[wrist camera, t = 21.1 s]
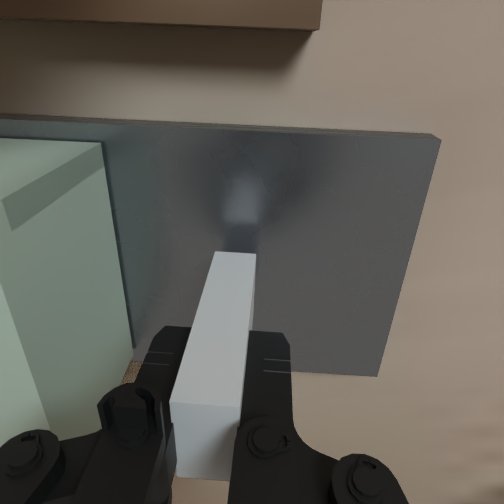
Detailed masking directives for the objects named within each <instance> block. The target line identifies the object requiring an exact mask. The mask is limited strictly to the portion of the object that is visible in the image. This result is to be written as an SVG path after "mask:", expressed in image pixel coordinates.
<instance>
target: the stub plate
mask: <svg viewBox="0 0 504 504" xmlns="http://www.w3.org/2000/svg"><path fill="white" fill-rule="evenodd" d="M0 138H9V139H30V140H50V141H71V142H91V143H101V148H102V155H103V161H104V168H105V174H106V180H107V187H108V193H109V200H110V206H111V213H112V219H113V226H114V232H115V239H116V245H117V251H118V258H119V264H120V271H121V277H122V284H123V290H124V297H125V303H126V309H127V316H128V322H129V329H130V335H131V342H132V348H133V357H132V359H131V361H144V358H145V356H146V354H147V353H148V349H149V347H150V344H151V342H152V340H153V337H154V336H155V335H156V334H157V333H158V332H159V331H160V330H161V329H162V328H163V327H164V326H180V327H192V325H193V322H194V319H195V316H196V312H197V309H198V306H199V302H200V299H201V296H202V293H203V289H204V286H205V283H206V279H207V276H208V273H209V270H210V266H211V263H212V260H213V256H214V253H215V251H219V252H235V253H251V254H256V270H255V291H254V311H253V323H252V331H266V332H281V333H283V334H284V336H285V338H286V339H287V341H288V343H289V344H290V358H291V360H290V362H291V371H297V372H312V373H328V374H343V375H358V376H373V377H377V375H378V371H379V368H380V364H381V360H382V357H383V353H384V349H385V346H386V342H387V338H388V335H389V331H390V327H391V324H392V320H393V316H394V313H395V309H396V305H397V302H398V298H399V294H400V291H401V287H402V283H403V280H404V276H405V272H406V269H407V265H408V261H409V258H410V254H411V250H412V247H413V243H414V239H415V236H416V232H417V228H418V225H419V221H420V217H421V214H422V210H423V206H424V203H425V199H426V195H427V192H428V188H429V184H430V181H431V177H432V173H433V170H434V166H435V162H436V159H437V155H438V151H439V148H440V144H441V139H439V138H437V137H435V136H434V135H432V134H424V133H403V132H382V131H361V130H339V129H318V128H297V127H276V126H254V125H233V124H212V123H191V122H170V121H148V120H127V119H106V118H85V117H63V116H42V115H21V114H0Z"/></svg>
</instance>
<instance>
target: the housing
mask: <svg viewBox="0 0 504 504" xmlns="http://www.w3.org/2000/svg"><path fill="white" fill-rule="evenodd" d="M132 357H133V348H132V342H131V335H130V329H129V322H128V316H127V309H126V303H125V297H124V290H123V284H122V277H121V271H120V264H119V258H118V251H117V245H116V239H115V232H114V226H113V219H112V213H111V206H110V200H109V193H108V187H107V180H106V174H105V168H104V161H103V155H102V148H101V143H91V142H71V141H50V140H30V139H9V138H0V447H1V446H2V445H3V444H4V443H6V442H7V441H8V440H9V439H11V438H13V437H15V436H17V435H19V434H21V433H23V432H25V431H30V430H35V429H42V430H49V431H51V432H52V433H54V434H55V435H57V437H58V440H59V441H61V440H66V439H70V438H75V437H79V436H84V435H88V434H91V433H94V432H97V431H99V429H100V427H101V421H100V417H99V413H98V409H97V404H98V403H99V401H100V400H101V399H102V397H103V396H104V395H105V394H107V393H108V392H109V391H111V390H112V389H113V388H115V387H118V386H119V385H120V383H121V381H122V379H123V377H124V374H125V372H126V370H127V368H128V366H129V363H130V361H131V359H132Z"/></svg>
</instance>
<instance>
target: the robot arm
mask: <svg viewBox="0 0 504 504" xmlns="http://www.w3.org/2000/svg"><path fill="white" fill-rule="evenodd" d="M255 270H256V254H251V253H235V252H219V251H215V253H214V256H213V260H212V263H211V266H210V270H209V273H208V276H207V279H206V283H205V286H204V289H203V293H202V296H201V299H200V302H199V306H198V309H197V312H196V316H195V319H194V322H193V325H192V327H180V326H164V327H163V328H162V329H161V330H160V331H159V332H158V333H157V334H156V335H155V336H154V337H153V340H152V342H151V344H150V347H149V349H148V353H147V354H146V356H145V358H144V361H143V364H142V365H141V368H140V370H139V373H138V375H137V377H136V380H135V382H134V383H126V384H123V385H121V386H118V387H115V388H113V389H112V390H111V391H109V392H108V393H107V394H105V395H104V396H103V397H102V399H101V400H100V401H99V403H98V404H97V409H98V413H99V417H100V421H101V426H102V429H101V430H99V431H97V432H94V433H91V434H88V435H84V436H79V437H75V438H70V439H66V440H61V441H59V440H58V437H57V435H55V434H54V433H52V432H51V431H49V430H42V429H35V430H30V431H25V432H23V433H21V434H19V435H17V436H15V437H13V438H11V439H9V440H8V441H7V442H6V443H4V444H3V445H2V446H1V447H0V504H171V503H172V488H171V485H172V481H173V477H174V473H175V469H176V472H177V477H182V478H194V479H206V480H218V481H230V486H229V495H228V503H227V504H409V503H408V501H407V499H406V497H405V495H404V493H403V491H402V489H401V487H400V485H399V483H398V481H397V479H396V478H395V477H394V475H393V474H392V472H391V471H390V470H389V468H388V467H386V466H385V465H384V464H383V463H381V462H380V461H379V460H378V459H375V458H373V457H370V456H368V455H365V454H350V455H347V456H345V457H342V458H341V459H340V460H336V459H334V458H331V457H329V456H326V455H324V454H322V453H319V452H317V451H316V450H314V449H312V448H310V447H309V446H308V445H307V444H306V443H304V442H303V441H302V439H301V438H300V437H299V435H298V434H297V432H296V430H295V427H294V423H293V412H292V385H291V362H290V360H291V358H290V344H289V343H288V341H287V339H286V338H285V336H284V334H283V333H281V332H266V331H252V323H253V311H254V291H255Z"/></svg>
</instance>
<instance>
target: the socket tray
mask: <svg viewBox="0 0 504 504" xmlns="http://www.w3.org/2000/svg"><path fill="white" fill-rule="evenodd" d="M321 9H322V0H0V19H18V20H43V21H68V22H93V23H118V24H144V25H169V26H194V27H219V28H244V29H269V30H294V31H316V30H319V28H320V19H321Z"/></svg>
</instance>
